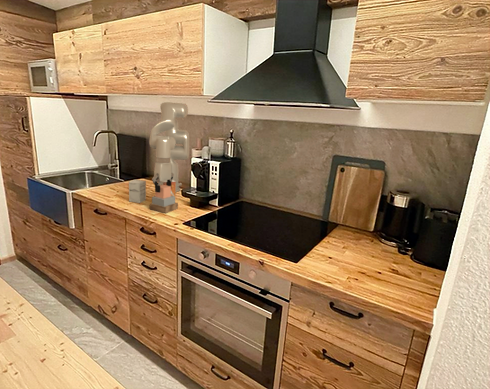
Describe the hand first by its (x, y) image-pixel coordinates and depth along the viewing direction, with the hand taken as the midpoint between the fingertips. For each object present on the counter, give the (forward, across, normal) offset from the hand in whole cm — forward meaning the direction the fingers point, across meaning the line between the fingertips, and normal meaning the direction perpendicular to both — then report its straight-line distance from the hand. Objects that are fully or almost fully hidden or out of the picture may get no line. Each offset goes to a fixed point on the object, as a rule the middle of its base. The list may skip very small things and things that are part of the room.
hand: (163, 190), depth 169 cm
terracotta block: (+4, 0, 0) cm, 4 cm away
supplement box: (+12, -3, -22) cm, 25 cm away
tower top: (+8, 0, 0) cm, 8 cm away
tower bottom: (+12, 0, 0) cm, 12 cm away
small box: (+12, -14, -8) cm, 20 cm away
